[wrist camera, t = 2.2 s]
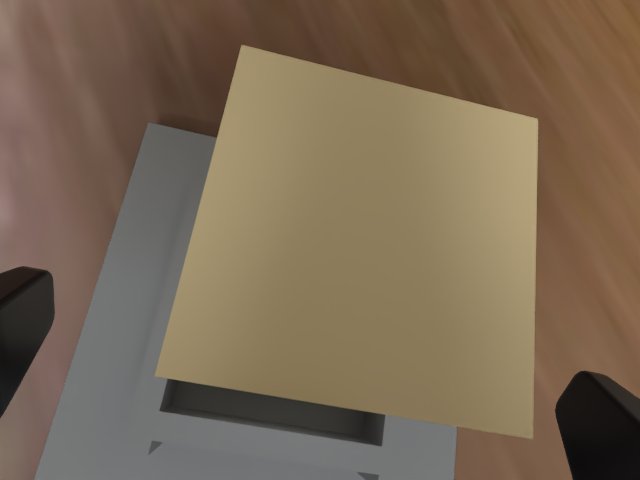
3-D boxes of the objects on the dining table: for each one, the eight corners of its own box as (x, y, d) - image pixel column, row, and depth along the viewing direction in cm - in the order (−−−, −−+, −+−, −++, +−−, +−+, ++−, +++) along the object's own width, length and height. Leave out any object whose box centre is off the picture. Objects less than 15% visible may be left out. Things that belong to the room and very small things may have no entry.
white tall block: (334, 396, 17) (533, 439, 5) (214, 375, 16) (154, 376, 5) (351, 280, 18) (538, 119, 7) (240, 258, 18) (241, 44, 6)
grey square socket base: (438, 555, 17) (485, 597, 13) (35, 501, 15) (-18, 534, 12) (463, 202, 21) (502, 171, 18) (151, 132, 19) (135, 84, 16)
